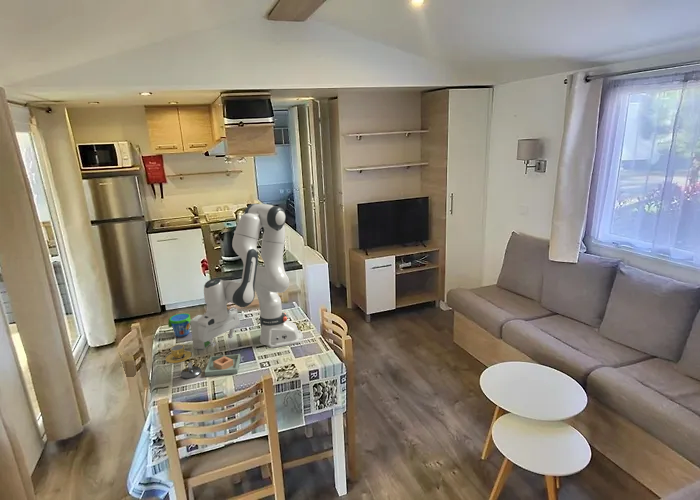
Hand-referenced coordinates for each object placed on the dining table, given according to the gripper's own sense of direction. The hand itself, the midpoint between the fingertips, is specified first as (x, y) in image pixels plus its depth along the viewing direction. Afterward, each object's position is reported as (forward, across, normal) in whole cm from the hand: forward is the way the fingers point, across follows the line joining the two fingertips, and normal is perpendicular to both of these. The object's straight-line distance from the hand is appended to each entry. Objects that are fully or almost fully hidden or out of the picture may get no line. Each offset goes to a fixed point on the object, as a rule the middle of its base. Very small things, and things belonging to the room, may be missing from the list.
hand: (222, 341), depth 197 cm
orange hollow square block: (+12, +1, 0) cm, 12 cm away
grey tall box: (+13, -6, -27) cm, 30 cm away
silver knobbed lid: (+12, +14, -8) cm, 20 cm away
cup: (+13, +8, -26) cm, 31 cm away
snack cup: (+13, -7, -48) cm, 50 cm away
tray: (+13, +1, 0) cm, 13 cm away
